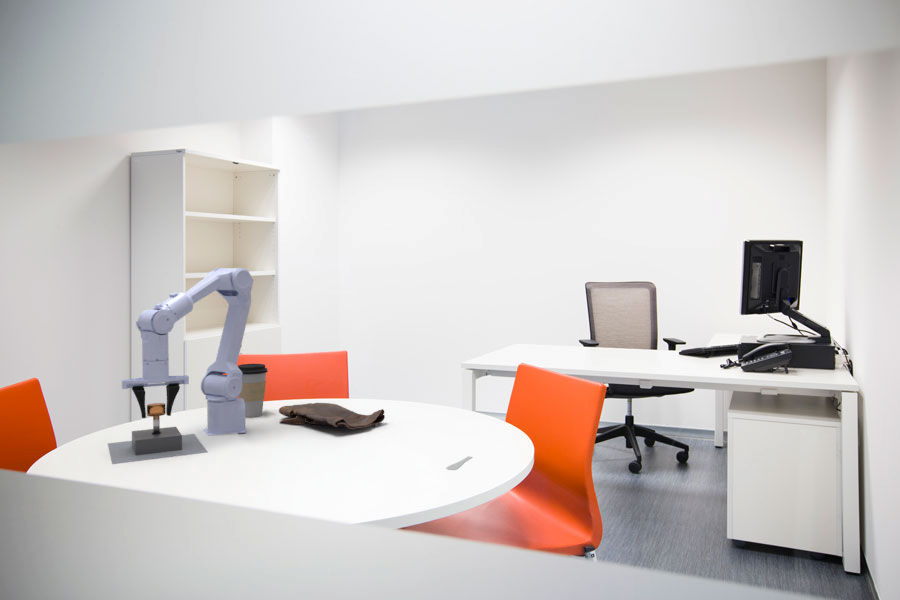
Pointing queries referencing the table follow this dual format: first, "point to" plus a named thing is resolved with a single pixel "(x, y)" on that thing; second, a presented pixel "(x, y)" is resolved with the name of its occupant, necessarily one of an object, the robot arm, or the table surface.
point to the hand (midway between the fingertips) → (156, 416)
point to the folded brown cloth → (329, 415)
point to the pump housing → (156, 441)
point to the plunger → (156, 415)
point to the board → (125, 453)
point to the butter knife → (458, 464)
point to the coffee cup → (253, 388)
